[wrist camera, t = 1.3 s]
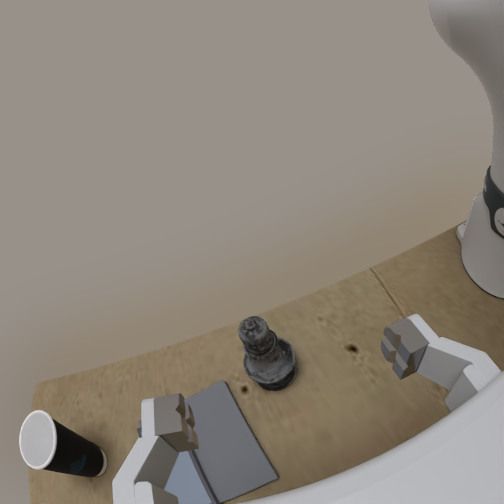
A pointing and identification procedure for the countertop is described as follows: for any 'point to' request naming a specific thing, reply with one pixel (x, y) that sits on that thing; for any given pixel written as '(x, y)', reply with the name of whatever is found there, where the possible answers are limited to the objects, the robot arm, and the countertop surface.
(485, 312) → the countertop surface
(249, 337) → the stone finial ornament
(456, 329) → the countertop surface
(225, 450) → the mat
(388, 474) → the robot arm
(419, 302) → the countertop surface
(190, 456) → the phone
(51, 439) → the dixie cup
